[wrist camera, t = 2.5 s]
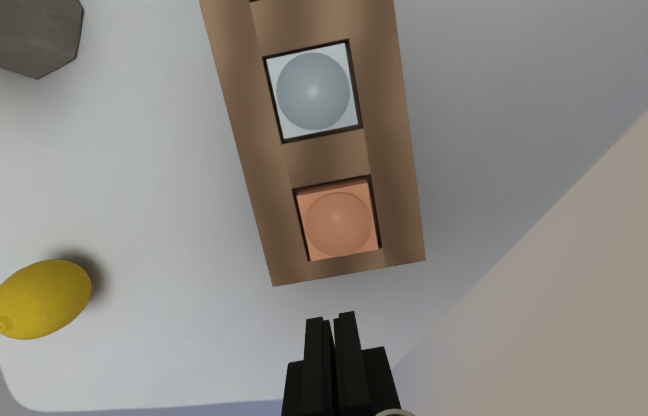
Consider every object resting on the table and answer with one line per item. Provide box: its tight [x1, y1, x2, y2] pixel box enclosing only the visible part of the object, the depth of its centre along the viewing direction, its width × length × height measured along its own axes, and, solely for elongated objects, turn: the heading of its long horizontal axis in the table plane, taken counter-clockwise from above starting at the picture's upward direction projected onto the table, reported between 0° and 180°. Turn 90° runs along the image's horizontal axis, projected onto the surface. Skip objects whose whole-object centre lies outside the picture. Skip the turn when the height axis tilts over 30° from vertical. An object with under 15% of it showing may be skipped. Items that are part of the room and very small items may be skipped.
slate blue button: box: [267, 43, 358, 139], centre depth 23 cm, size 5×5×3 cm
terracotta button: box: [297, 176, 378, 261], centre depth 25 cm, size 5×5×3 cm
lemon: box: [0, 259, 92, 340], centre depth 27 cm, size 6×6×8 cm
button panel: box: [199, 0, 426, 287], centre depth 25 cm, size 12×27×4 cm, turn 11°
